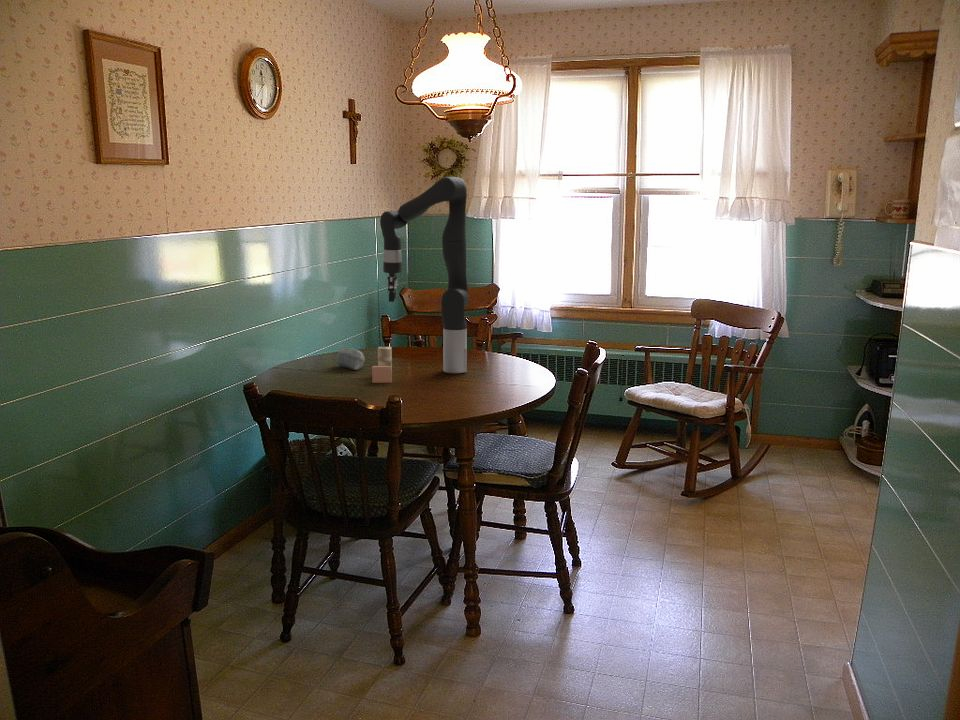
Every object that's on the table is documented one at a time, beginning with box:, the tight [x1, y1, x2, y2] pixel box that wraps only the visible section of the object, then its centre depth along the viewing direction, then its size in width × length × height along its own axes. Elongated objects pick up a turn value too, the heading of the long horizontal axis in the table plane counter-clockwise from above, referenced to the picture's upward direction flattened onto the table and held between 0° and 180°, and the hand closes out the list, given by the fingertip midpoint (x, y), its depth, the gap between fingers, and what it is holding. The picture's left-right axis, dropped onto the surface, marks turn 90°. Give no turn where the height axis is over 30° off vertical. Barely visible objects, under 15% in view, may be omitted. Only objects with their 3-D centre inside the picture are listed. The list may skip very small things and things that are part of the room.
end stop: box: [371, 365, 393, 384], centre depth 286 cm, size 7×2×6 cm, turn 91°
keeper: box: [377, 346, 393, 367], centre depth 297 cm, size 5×4×10 cm
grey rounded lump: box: [335, 347, 365, 371], centre depth 309 cm, size 14×10×10 cm
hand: (392, 300), depth 318 cm, fingers open, 8 cm apart
